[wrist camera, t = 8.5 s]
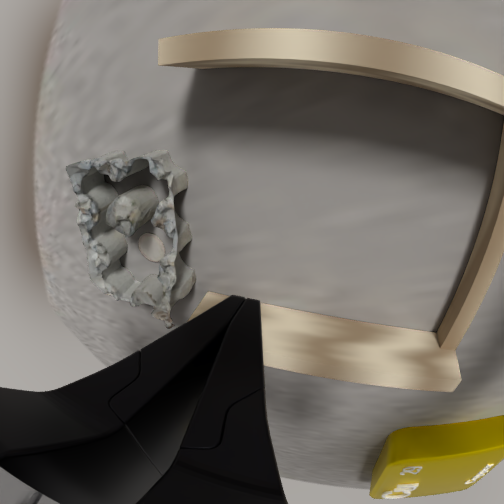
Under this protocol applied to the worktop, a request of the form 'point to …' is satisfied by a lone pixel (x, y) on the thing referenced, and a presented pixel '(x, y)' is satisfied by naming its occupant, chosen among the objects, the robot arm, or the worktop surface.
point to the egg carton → (132, 228)
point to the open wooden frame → (344, 330)
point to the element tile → (437, 458)
